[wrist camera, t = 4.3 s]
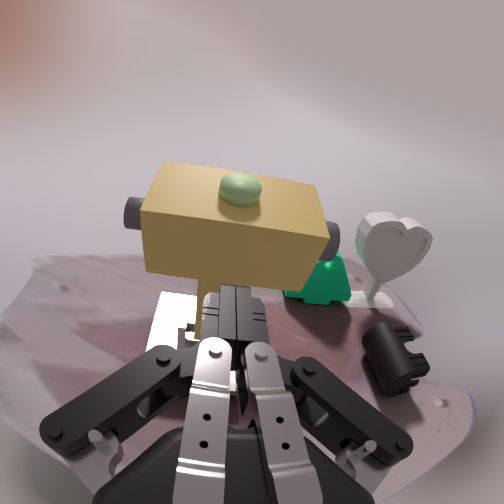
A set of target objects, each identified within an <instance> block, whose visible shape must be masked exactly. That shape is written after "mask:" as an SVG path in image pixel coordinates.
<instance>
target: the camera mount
mask: <svg viewBox="0 0 504 504" xmlns="http://www.w3.org/2000/svg"><path fill="white" fill-rule="evenodd" d="M284 293H285V296H286V297H297V298H303V301H304V303H311V304H324V305H329V303H330V301H331V300H334V301H348V302H349V300H350V298H351V296H352V294H351V290H350V286H349V282H348V278H347V274H346V271H345V267H344V263H343V260H342V258H341V256H340V254H339V252H337V254H336V256H335V258H334V259H333V260H332V261H331V262H326V261H319V260H318V262H317V263H316V265H315V267H314V269H313V271H312V272H311V274H310V276H309V278H308V279H307V281H306V283H305V284H304V286H303V288H302V290H301V291H300V292H298V291H288V290H284Z"/></svg>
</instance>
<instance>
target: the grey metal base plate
mask: <svg viewBox="0 0 504 504" xmlns="http://www.w3.org/2000/svg"><path fill="white" fill-rule="evenodd" d="M196 300H197V297H195V296H188V295H181V294H174V293H167V292H162V293H161V297H160V300H159V304H158V307H157V311H156V314H155V318H154V322H153V325H152V329H151V333H150V337H149V341H148V345H147V349H146V351H148V350H149V349H151V348H152V347H154V346H156V345H160V344H166V345H170V346H172V347H174V348H175V349H176V350H185V349H189V348H191V347H193V346H195V345H196V344H197V343H198V341H199V340H193V339H194V325H195V312H196ZM235 382H236V380H235V371H230V381H229V391H230V395H236V390H235ZM186 395H187V394H186ZM186 395H180V396H179V397H178V398H181V397H184V396H186Z"/></svg>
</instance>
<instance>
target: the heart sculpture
mask: <svg viewBox="0 0 504 504" xmlns="http://www.w3.org/2000/svg"><path fill="white" fill-rule="evenodd" d="M432 240H433V239H432V235H431V234H430V233H429V232H428V231H427V230H426V229H425V228H424V227H423V226H422V225H420V224H419V223H418V222H417V221H415V220H414V219H412V218H408V217H406V218H402V219H400V220H399V219H397V218H396V217H395V216H394V215H393V214H392V213H388V212H375V213H370V214H368V215H366V216H364V217H363V219H362V221H361V222H360V224H359V226H358V229H357V233H356V238H355V244H356V249H357V254H358V255H359V257H360V258H361V260H362V261H363V263H364V264H365V266H366V267H367V269H368V270H369V272H370V273H371V274H372V278H371V280H370V282H369V284H368V286H367V287H366V289H365V291H364V292H362V291H351V294H352V296H351V298H350V300H349V302H348V301H341V302H342V303H343V304H344V305H345V306H346V307H357V308H393V303H392V300H391V299H390V298H389V297H388V296H387V295H385V294H384V293H379V292H377V291H378V290H379V288H380V286H381V285H382V284H384V283H386V282H388V281H390V280H393V279H395V278H397V277H400V276H402V275H403V274H405V273H407V272H409V271H410V270H412V269H413V268H414V267H415V266H416V265H417V264H418V263H420V262H421V261H422V259H423V258H424V256H425V255H426V253H427V252H428V250H429V249H430V246H431V242H432Z"/></svg>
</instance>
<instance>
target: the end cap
mask: <svg viewBox="0 0 504 504" xmlns="http://www.w3.org/2000/svg"><path fill="white" fill-rule="evenodd" d="M413 340H414V337H413V335H412V334H411V332H410V331H409V329H408V327H392V326H391V324H390V323H389V321H384V322H381V323H378V324H376V325H374V326H373V327H371V328H370V329H369V330H368V331H367V332H366V333H365V334H364V336H363V338H362V345H363V347H364V349H365V352H366V354H367V356H368V359H369V361H370V363H371V365H372V368H373V370H374V372H375V375H376V377H377V380H378V382H379V384H380V387H381V389H382V392H383V394H384V395H385V396H387V397H392V396H394V395H399V394H404V393H407V392H408V391H409V387H414V386H415V385H417V384H418V382H419V380H413V381H412V380H411V379H413V378H418V377H423V376H425V375H426V374H427V373H428V371H429V370H430V366H429V364H428V362H427V360H426V358H425V357H424V355H423V353H418V354H412V353H411V352H409V351H408V350H407V349H406V348H405V346H404V342H406V341H413Z"/></svg>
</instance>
